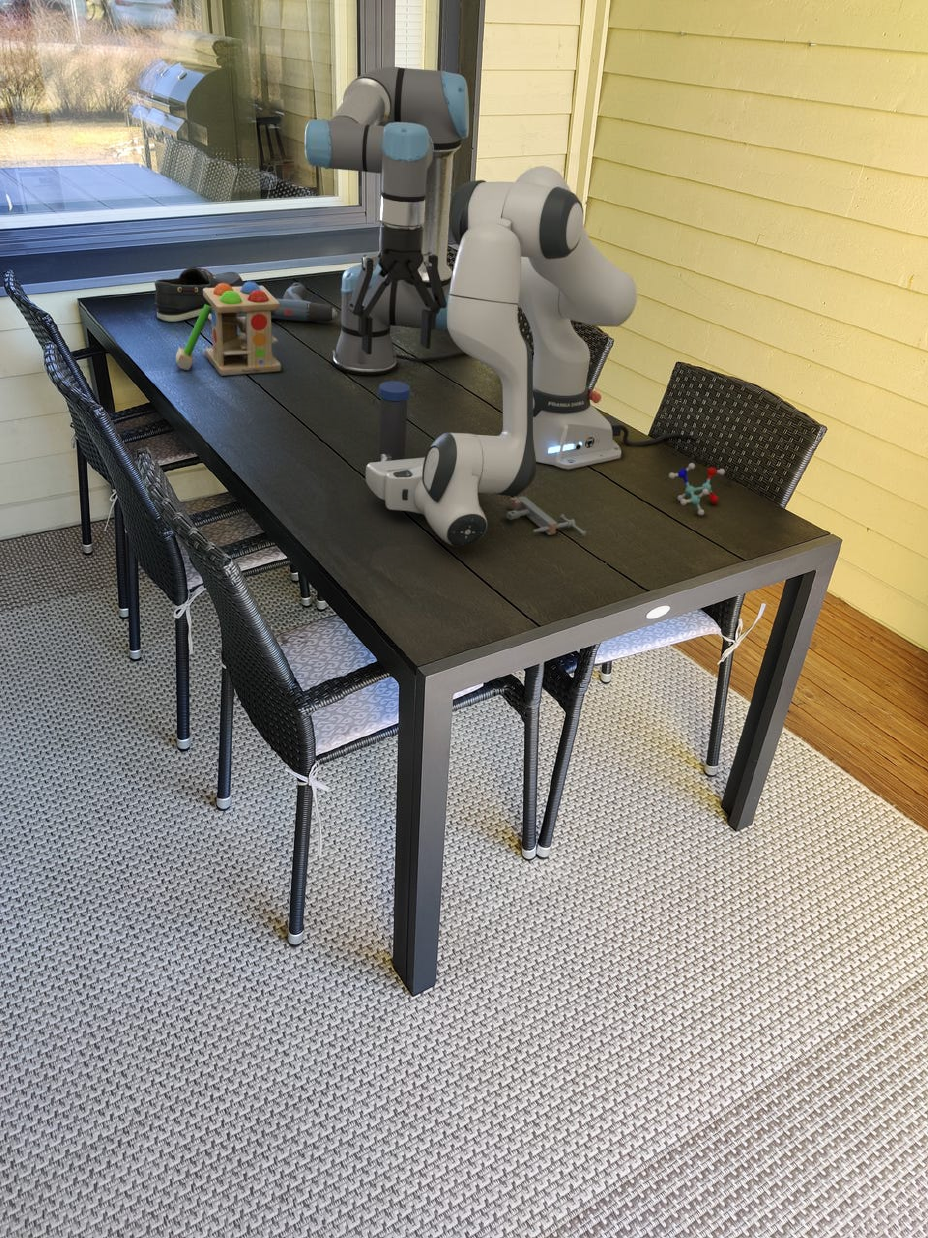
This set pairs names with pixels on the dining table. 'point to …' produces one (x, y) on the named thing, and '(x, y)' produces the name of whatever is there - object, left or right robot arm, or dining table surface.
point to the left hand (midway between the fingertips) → (396, 349)
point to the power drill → (301, 307)
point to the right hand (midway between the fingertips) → (408, 455)
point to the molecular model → (691, 490)
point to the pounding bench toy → (229, 347)
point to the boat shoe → (188, 292)
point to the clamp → (538, 516)
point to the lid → (394, 391)
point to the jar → (392, 429)
